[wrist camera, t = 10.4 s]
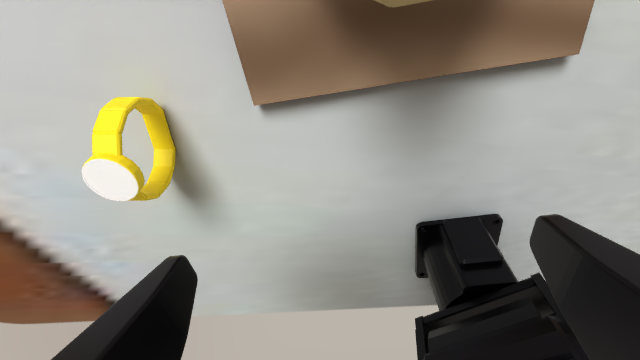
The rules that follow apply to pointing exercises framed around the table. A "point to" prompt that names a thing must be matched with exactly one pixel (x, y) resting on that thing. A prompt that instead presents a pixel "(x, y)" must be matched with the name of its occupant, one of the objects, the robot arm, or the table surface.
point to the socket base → (392, 40)
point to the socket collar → (399, 2)
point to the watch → (117, 170)
